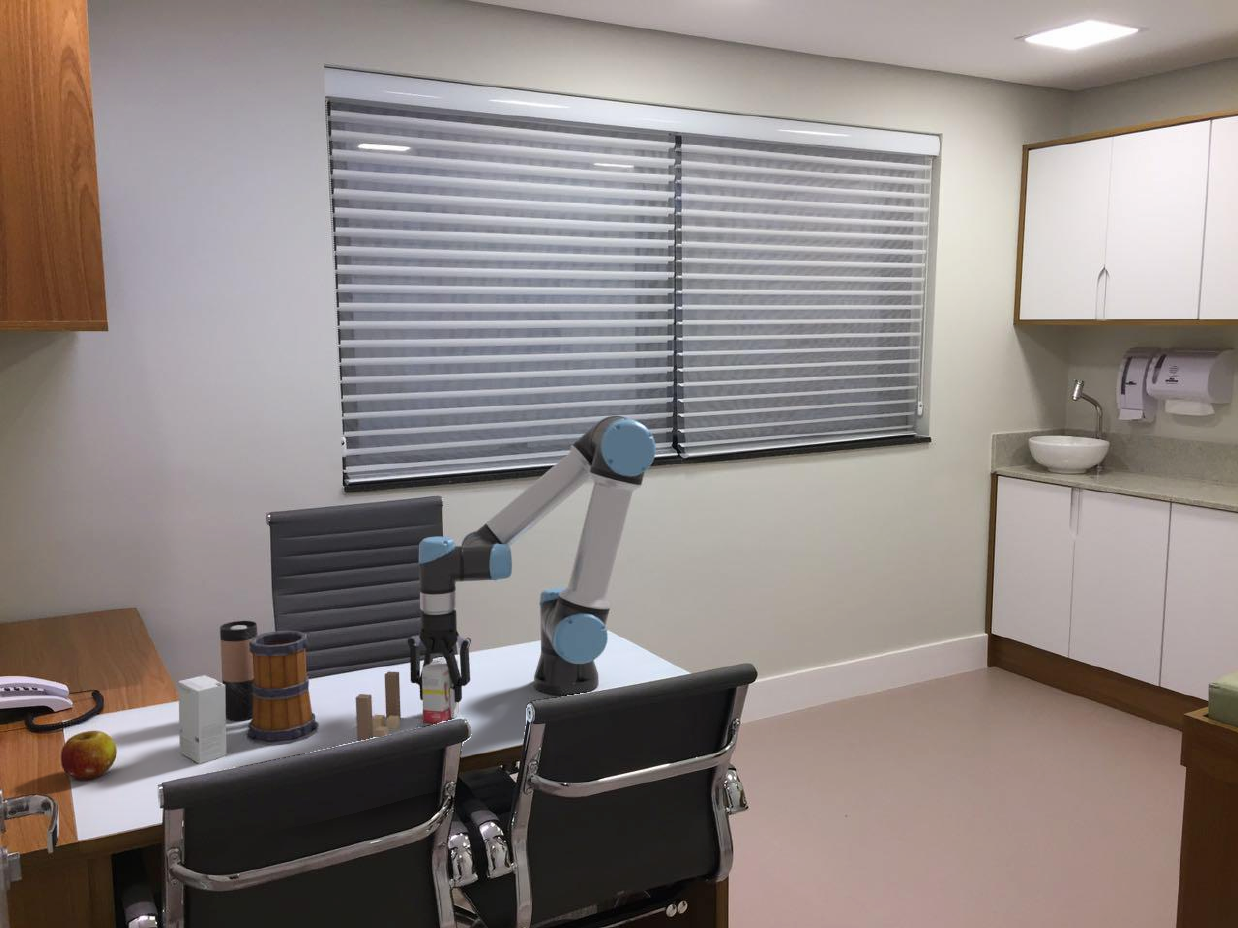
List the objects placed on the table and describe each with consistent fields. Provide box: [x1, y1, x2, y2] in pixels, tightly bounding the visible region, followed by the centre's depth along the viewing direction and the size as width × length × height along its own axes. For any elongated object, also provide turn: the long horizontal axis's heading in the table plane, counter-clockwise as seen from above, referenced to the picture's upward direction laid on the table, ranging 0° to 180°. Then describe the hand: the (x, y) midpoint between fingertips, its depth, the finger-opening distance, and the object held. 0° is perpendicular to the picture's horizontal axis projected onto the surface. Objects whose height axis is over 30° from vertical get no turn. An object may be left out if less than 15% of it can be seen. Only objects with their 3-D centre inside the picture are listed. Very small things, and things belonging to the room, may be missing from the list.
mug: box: [245, 630, 319, 746], centre depth 213 cm, size 19×14×20 cm
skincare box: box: [177, 674, 227, 764], centre depth 199 cm, size 8×6×15 cm
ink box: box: [421, 656, 460, 724], centre depth 219 cm, size 9×5×12 cm, turn 164°
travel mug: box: [219, 620, 258, 722], centre depth 220 cm, size 8×8×20 cm
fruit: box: [60, 730, 118, 781], centre depth 191 cm, size 10×9×8 cm
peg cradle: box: [334, 671, 423, 747], centre depth 207 cm, size 12×16×12 cm
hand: (441, 714), depth 219 cm, fingers closed on ink box, 5 cm apart
